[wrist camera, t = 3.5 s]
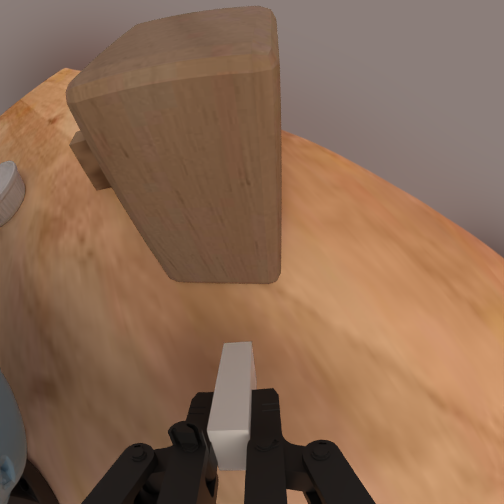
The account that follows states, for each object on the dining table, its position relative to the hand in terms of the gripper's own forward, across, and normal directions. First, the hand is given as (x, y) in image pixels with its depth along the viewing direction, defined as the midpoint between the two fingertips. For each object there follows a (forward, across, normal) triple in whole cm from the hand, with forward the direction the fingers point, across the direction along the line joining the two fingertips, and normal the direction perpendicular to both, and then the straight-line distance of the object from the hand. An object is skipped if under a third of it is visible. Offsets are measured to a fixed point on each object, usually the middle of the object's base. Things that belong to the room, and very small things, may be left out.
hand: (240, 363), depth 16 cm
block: (+15, -2, +4) cm, 15 cm away
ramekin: (+22, -39, +12) cm, 46 cm away
